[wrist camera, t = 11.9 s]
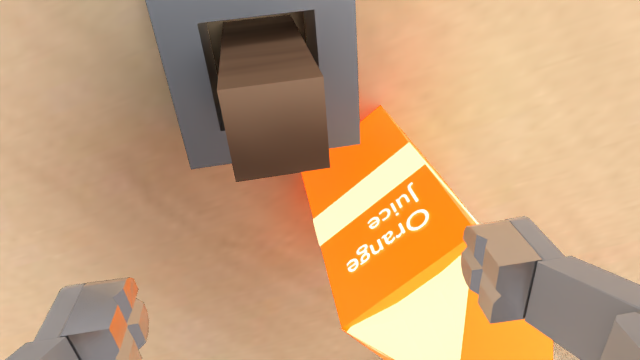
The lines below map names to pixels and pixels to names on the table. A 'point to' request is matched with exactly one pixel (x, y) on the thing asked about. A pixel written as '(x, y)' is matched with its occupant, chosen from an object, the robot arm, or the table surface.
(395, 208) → the orange juice
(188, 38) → the socket
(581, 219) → the table surface
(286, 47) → the peg
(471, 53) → the table surface
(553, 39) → the table surface
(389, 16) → the table surface
